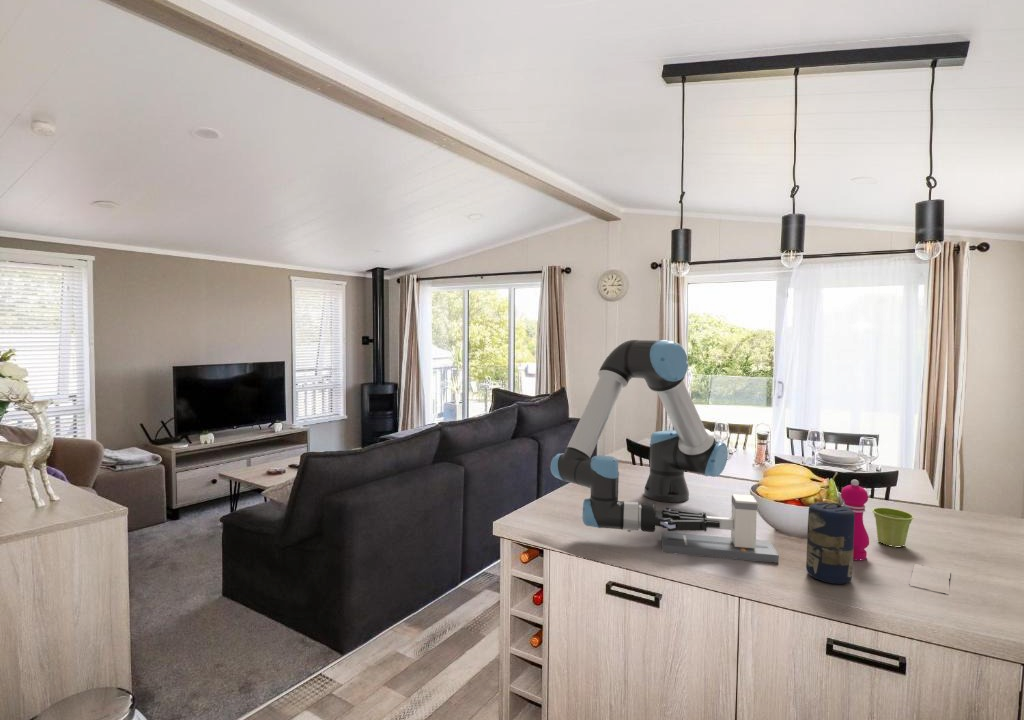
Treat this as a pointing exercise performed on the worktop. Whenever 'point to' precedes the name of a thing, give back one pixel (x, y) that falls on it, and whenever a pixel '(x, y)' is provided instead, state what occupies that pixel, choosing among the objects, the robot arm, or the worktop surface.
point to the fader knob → (744, 521)
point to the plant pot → (892, 525)
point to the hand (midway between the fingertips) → (732, 524)
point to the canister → (830, 542)
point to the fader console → (716, 547)
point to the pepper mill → (857, 516)
